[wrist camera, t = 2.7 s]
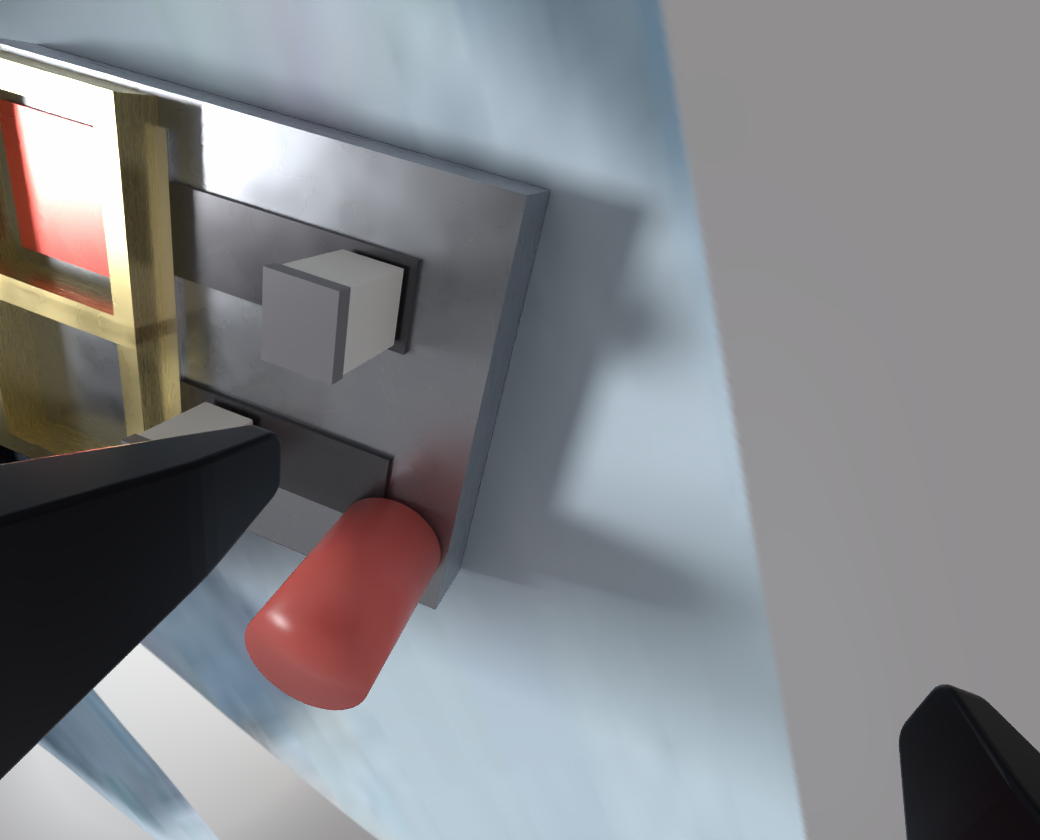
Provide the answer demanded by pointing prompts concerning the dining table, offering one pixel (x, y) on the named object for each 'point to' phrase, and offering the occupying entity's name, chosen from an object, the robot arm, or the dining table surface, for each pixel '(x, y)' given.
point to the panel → (248, 288)
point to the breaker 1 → (191, 423)
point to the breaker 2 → (328, 313)
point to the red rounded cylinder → (345, 605)
